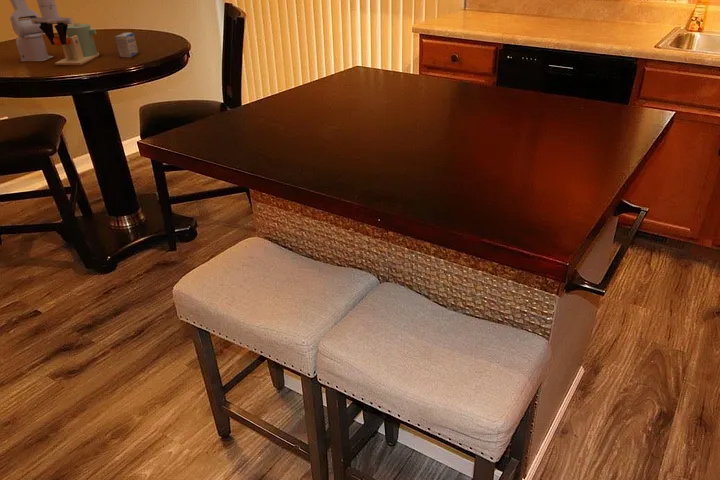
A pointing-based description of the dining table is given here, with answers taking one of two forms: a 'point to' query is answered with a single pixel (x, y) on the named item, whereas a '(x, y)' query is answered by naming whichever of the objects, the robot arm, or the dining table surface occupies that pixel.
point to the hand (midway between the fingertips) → (59, 44)
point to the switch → (58, 42)
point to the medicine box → (126, 44)
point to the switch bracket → (78, 53)
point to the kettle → (83, 38)
